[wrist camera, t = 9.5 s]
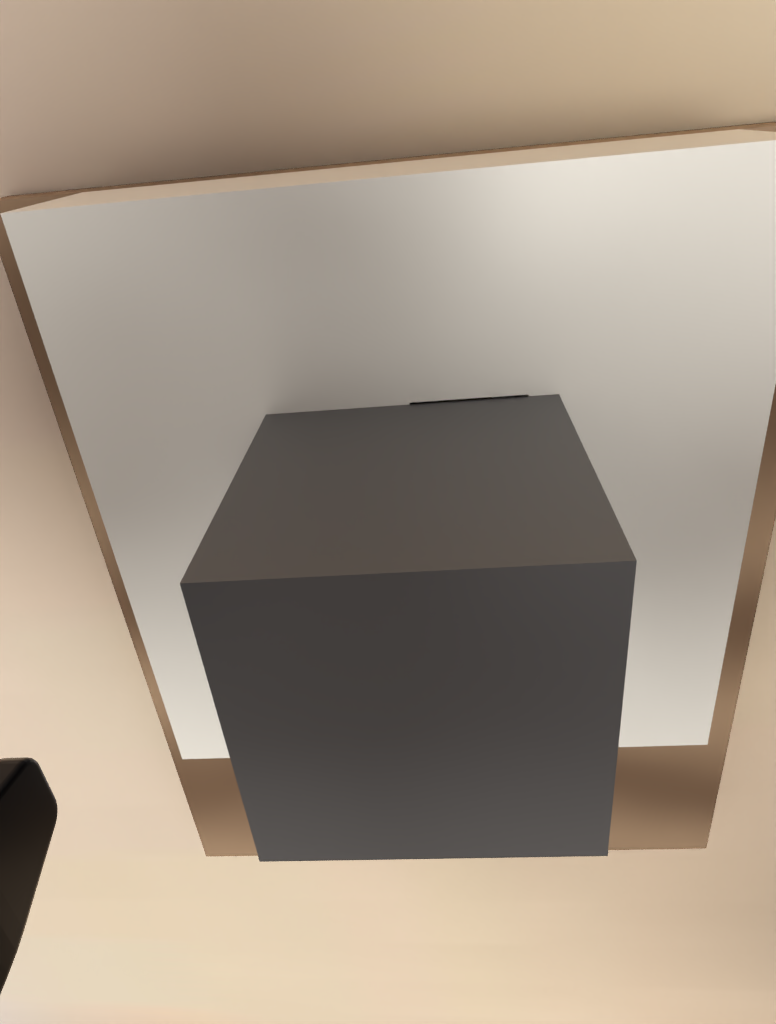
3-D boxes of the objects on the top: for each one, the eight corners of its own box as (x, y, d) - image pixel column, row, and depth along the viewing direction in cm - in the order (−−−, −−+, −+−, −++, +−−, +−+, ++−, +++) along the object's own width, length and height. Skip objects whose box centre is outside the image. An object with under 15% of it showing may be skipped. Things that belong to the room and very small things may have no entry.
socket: (667, 654, 18) (707, 744, 16) (214, 671, 19) (182, 759, 17) (738, 129, 12) (822, 135, 10) (82, 192, 13) (0, 213, 11)
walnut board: (695, 820, 23) (705, 848, 22) (214, 829, 24) (206, 856, 23) (830, 116, 13) (858, 117, 12) (8, 196, 14) (-18, 202, 14)
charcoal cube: (539, 577, 16) (607, 856, 10) (319, 587, 16) (259, 860, 10) (543, 360, 13) (636, 560, 8) (283, 379, 14) (179, 583, 8)
